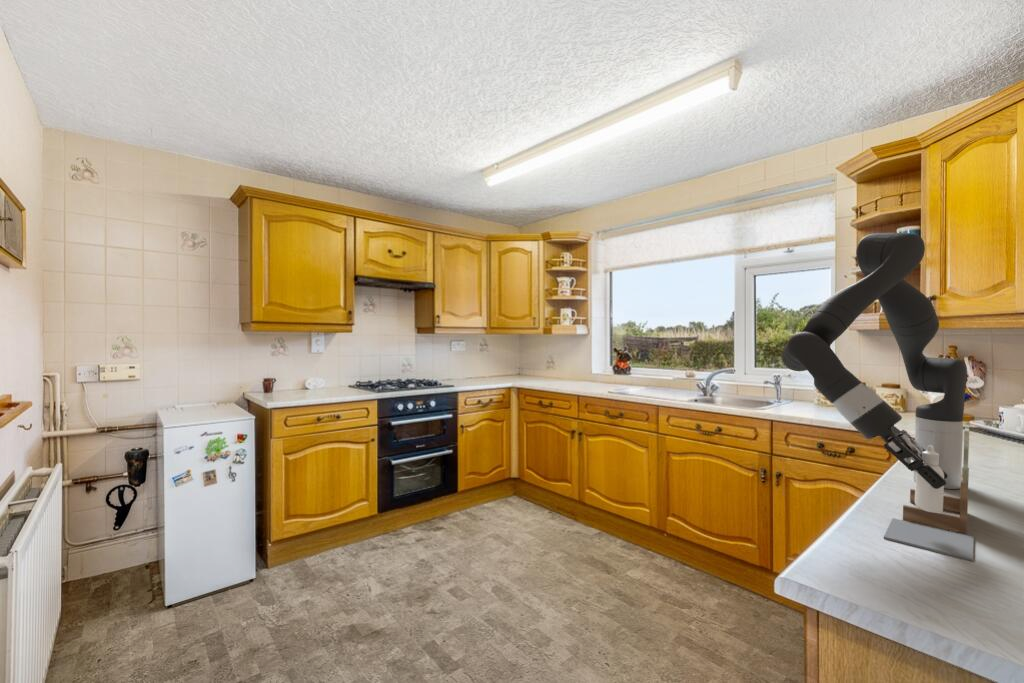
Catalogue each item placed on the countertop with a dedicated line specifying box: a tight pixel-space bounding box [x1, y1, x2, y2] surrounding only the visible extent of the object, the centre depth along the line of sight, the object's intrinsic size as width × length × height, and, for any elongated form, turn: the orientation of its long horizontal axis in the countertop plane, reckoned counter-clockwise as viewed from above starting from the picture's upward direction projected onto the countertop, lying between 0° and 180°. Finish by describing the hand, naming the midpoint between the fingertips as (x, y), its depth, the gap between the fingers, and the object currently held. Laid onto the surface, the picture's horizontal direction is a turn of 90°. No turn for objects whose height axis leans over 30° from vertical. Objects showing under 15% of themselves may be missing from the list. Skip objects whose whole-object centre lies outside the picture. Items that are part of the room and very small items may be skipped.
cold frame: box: [902, 421, 970, 535], centre depth 99 cm, size 16×10×20 cm, turn 135°
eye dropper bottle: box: [914, 446, 945, 513], centre depth 88 cm, size 4×6×12 cm
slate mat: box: [883, 517, 975, 562], centre depth 88 cm, size 13×12×1 cm
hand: (942, 482), depth 87 cm, fingers closed on eye dropper bottle, 5 cm apart
